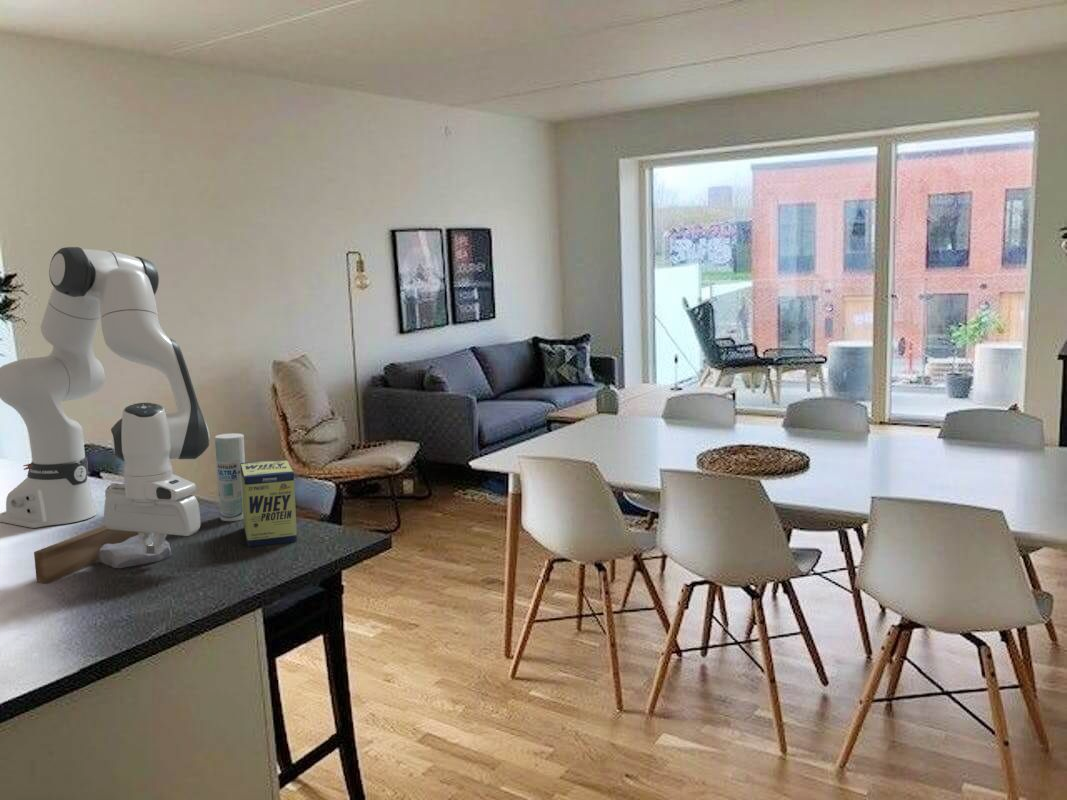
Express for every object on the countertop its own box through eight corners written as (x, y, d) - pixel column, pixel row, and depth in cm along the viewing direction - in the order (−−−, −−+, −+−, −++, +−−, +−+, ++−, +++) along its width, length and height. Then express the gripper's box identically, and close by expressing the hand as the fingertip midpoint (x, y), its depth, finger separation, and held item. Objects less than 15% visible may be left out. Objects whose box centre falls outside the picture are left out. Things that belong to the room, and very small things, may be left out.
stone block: (176, 564, 178) (152, 546, 184) (177, 543, 177) (152, 526, 183) (120, 582, 169) (95, 562, 175) (119, 561, 168) (95, 541, 174)
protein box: (247, 547, 184) (243, 476, 181) (243, 528, 198) (239, 462, 196) (298, 541, 187) (294, 472, 185) (289, 523, 202) (286, 458, 199)
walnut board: (36, 582, 163) (33, 551, 162) (139, 538, 190) (137, 512, 189) (47, 583, 162) (44, 553, 162) (149, 539, 189) (147, 513, 188)
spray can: (215, 521, 203) (210, 438, 200) (225, 513, 210) (221, 433, 207) (242, 521, 203) (237, 438, 200) (252, 513, 209) (247, 433, 207)
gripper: (93, 486, 170) (98, 553, 172) (182, 492, 165) (187, 562, 167) (116, 479, 176) (121, 544, 178) (203, 485, 171) (207, 552, 173)
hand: (153, 553), depth 172 cm, fingers closed
